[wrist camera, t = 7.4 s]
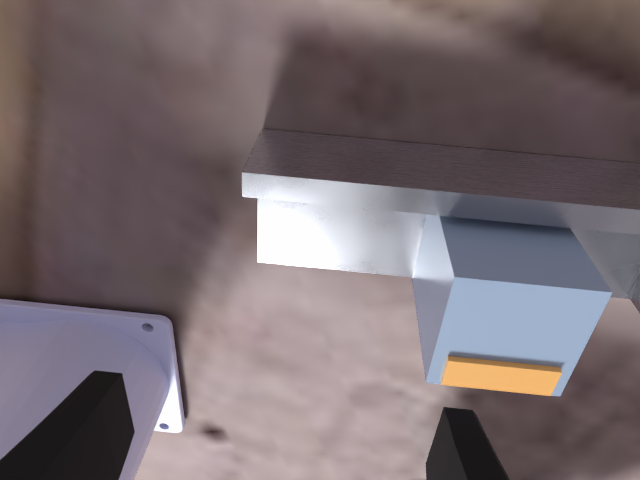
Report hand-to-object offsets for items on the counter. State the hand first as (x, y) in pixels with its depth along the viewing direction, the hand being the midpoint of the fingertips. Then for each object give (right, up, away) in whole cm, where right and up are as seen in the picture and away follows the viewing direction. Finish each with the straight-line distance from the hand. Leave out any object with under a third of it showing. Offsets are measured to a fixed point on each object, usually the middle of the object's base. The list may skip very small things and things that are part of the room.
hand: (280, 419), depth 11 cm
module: (+6, +4, +7) cm, 10 cm away
